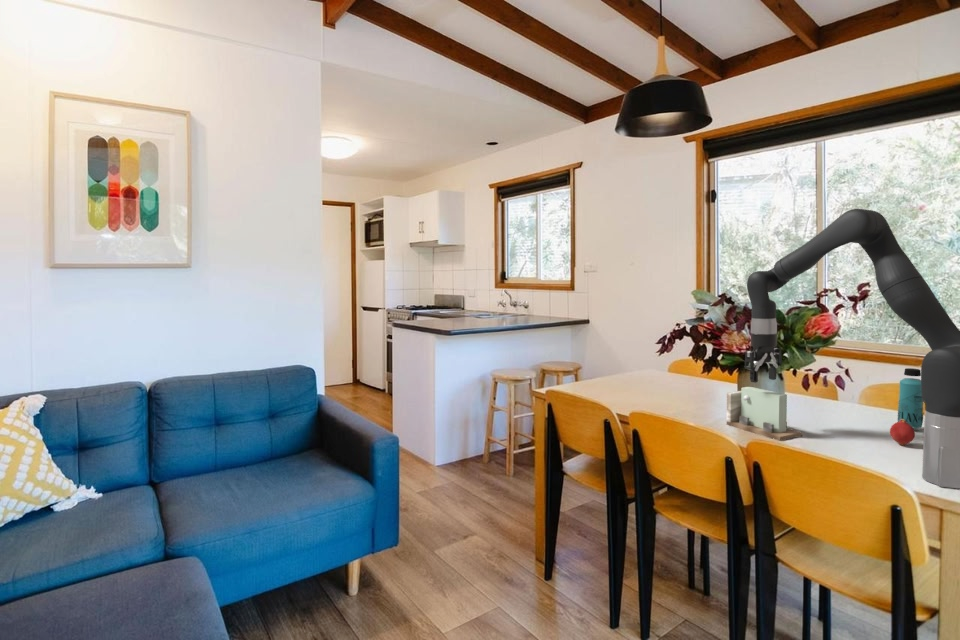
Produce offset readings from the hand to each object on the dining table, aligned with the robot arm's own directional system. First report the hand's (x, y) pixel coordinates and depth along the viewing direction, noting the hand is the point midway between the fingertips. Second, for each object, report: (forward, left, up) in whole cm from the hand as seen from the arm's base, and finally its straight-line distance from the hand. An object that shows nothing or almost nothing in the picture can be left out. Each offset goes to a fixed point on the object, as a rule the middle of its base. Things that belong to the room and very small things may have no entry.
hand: (763, 380), depth 170 cm
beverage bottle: (+14, -44, -17) cm, 49 cm away
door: (0, 0, -15) cm, 15 cm away
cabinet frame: (0, 0, -17) cm, 17 cm away
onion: (-5, -36, -17) cm, 40 cm away
